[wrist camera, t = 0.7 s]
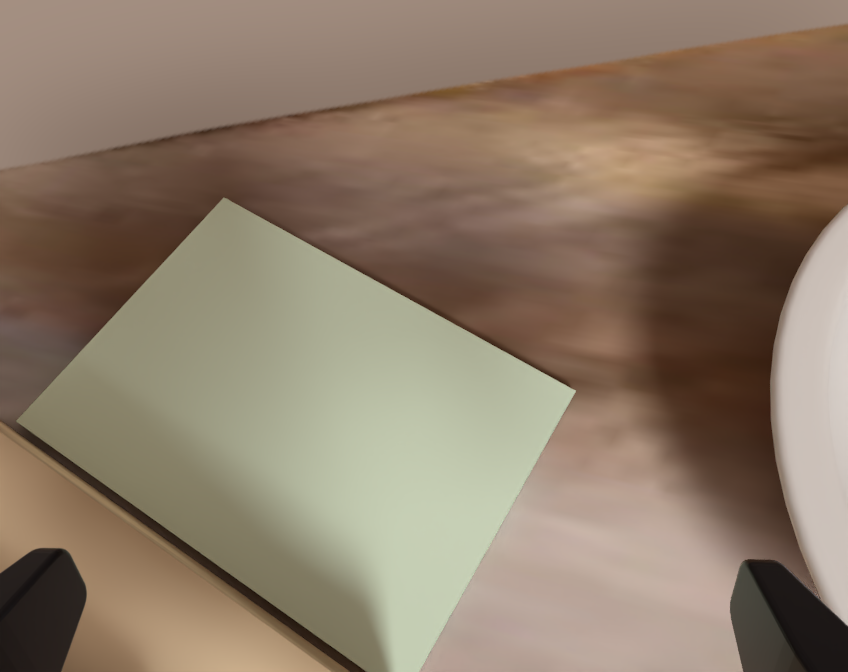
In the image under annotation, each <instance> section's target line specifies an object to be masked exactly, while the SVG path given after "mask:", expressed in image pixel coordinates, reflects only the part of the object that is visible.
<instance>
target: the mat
mask: <svg viewBox="0 0 848 672" xmlns="http://www.w3.org/2000/svg"><path fill="white" fill-rule="evenodd" d="M575 392H576V391H575V390H573V389H571V388H570V387H568V386H566V385H564V384H562V383H560V382H559V381H557V380H555V379H553V378H551V377H550V376H548V375H546V374H544V373H542V372H540V371H539V370H537V369H535V368H533V367H531V366H530V365H528V364H526V363H524V362H522V361H520V360H519V359H517V358H515V357H513V356H511V355H510V354H508V353H506V352H504V351H502V350H500V349H499V348H497V347H495V346H493V345H491V344H490V343H488V342H486V341H484V340H482V339H480V338H479V337H477V336H475V335H473V334H471V333H470V332H468V331H466V330H464V329H462V328H460V327H459V326H457V325H455V324H453V323H451V322H450V321H448V320H446V319H444V318H442V317H440V316H439V315H437V314H435V313H433V312H431V311H430V310H428V309H426V308H424V307H422V306H420V305H419V304H417V303H415V302H413V301H411V300H410V299H408V298H406V297H404V296H402V295H400V294H399V293H397V292H395V291H393V290H391V289H390V288H388V287H386V286H384V285H382V284H381V283H379V282H377V281H375V280H373V279H371V278H370V277H368V276H366V275H364V274H362V273H361V272H359V271H357V270H355V269H353V268H351V267H350V266H348V265H346V264H344V263H342V262H341V261H339V260H337V259H335V258H333V257H331V256H330V255H328V254H326V253H324V252H322V251H321V250H319V249H317V248H315V247H313V246H311V245H310V244H308V243H306V242H304V241H302V240H301V239H299V238H297V237H295V236H293V235H291V234H290V233H288V232H286V231H284V230H282V229H281V228H279V227H277V226H275V225H273V224H271V223H270V222H268V221H266V220H264V219H262V218H261V217H259V216H257V215H255V214H253V213H251V212H250V211H248V210H246V209H244V208H242V207H241V206H239V205H237V204H235V203H233V202H231V201H230V200H228V199H226V198H223V199H222V200H221V201H220V202H219V203H218V204H217V205H216V206H215V208H214V209H213V210H212V211H211V212H210V213H209V214H208V215H207V216H206V217H205V218H204V219H203V220H202V221H201V223H200V224H199V225H198V226H197V227H196V228H195V229H194V230H193V231H192V232H191V233H190V234H189V235H188V237H187V238H186V239H185V240H184V241H183V242H182V243H181V244H180V245H179V246H178V247H177V248H176V249H175V251H174V252H173V253H172V254H171V255H170V256H169V257H168V258H167V259H166V260H165V261H164V262H163V263H162V265H161V266H160V267H159V268H158V269H157V270H156V271H155V272H154V273H153V274H152V275H151V276H150V277H149V278H148V280H147V281H146V282H145V283H144V284H143V285H142V286H141V287H140V288H139V289H138V290H137V291H136V292H135V294H134V295H133V296H132V297H131V298H130V299H129V300H128V301H127V302H126V303H125V304H124V305H123V306H122V308H121V309H120V310H119V311H118V312H117V313H116V314H115V315H114V316H113V317H112V318H111V319H110V320H109V321H108V323H107V324H106V325H105V326H104V327H103V328H102V329H101V330H100V331H99V332H98V333H97V334H96V335H95V337H94V338H93V339H92V340H91V341H90V342H89V343H88V344H87V345H86V346H85V347H84V348H83V349H82V351H81V352H80V353H79V354H78V355H77V356H76V357H75V358H74V359H73V360H72V361H71V362H70V363H69V364H68V366H67V367H66V368H65V369H64V370H63V371H62V372H61V373H60V374H59V375H58V376H57V377H56V378H55V380H54V381H53V382H52V383H51V384H50V385H49V386H48V387H47V388H46V389H45V390H44V391H43V392H42V394H41V395H40V396H39V397H38V398H37V399H36V400H35V401H34V402H33V403H32V404H31V405H30V406H29V407H28V409H27V410H26V411H25V412H24V413H23V414H22V415H21V416H20V417H19V418H18V419H17V420H16V422H17V423H19V424H20V425H22V426H23V427H24V428H26V429H27V430H29V431H30V432H32V433H33V434H34V435H36V436H37V437H39V438H40V439H41V440H43V441H44V442H46V443H47V444H48V445H50V446H51V447H53V448H54V449H55V450H57V451H58V452H60V453H61V454H62V455H64V456H65V457H67V458H68V459H69V460H71V461H72V462H74V463H75V464H76V465H78V466H79V467H81V468H82V469H83V470H85V471H86V472H88V473H89V474H90V475H92V476H93V477H95V478H96V479H97V480H99V481H100V482H102V483H103V484H104V485H106V486H107V487H109V488H110V489H111V490H113V491H114V492H116V493H117V494H118V495H120V496H121V497H123V498H124V499H125V500H127V501H128V502H130V503H131V504H132V505H134V506H135V507H137V508H138V509H139V510H141V511H142V512H144V513H145V514H146V515H148V516H149V517H151V518H152V519H153V520H155V521H156V522H158V523H159V524H160V525H162V526H163V527H165V528H166V529H167V530H169V531H170V532H172V533H173V534H174V535H176V536H177V537H179V538H180V539H181V540H183V541H184V542H186V543H187V544H188V545H190V546H191V547H193V548H194V549H195V550H197V551H198V552H200V553H201V554H202V555H204V556H205V557H207V558H208V559H209V560H211V561H212V562H214V563H215V564H216V565H218V566H219V567H221V568H222V569H223V570H225V571H226V572H228V573H229V574H230V575H232V576H233V577H235V578H236V579H237V580H239V581H240V582H242V583H243V584H244V585H246V586H247V587H249V588H250V589H252V590H253V591H254V592H256V593H257V594H259V595H260V596H261V597H263V598H264V599H266V600H267V601H268V602H270V603H271V604H273V605H274V606H275V607H277V608H278V609H280V610H281V611H282V612H284V613H285V614H287V615H288V616H289V617H291V618H292V619H294V620H295V621H296V622H298V623H299V624H301V625H302V626H303V627H305V628H306V629H308V630H309V631H310V632H312V633H313V634H315V635H316V636H317V637H319V638H320V639H322V640H323V641H324V642H326V643H327V644H329V645H330V646H331V647H333V648H334V649H336V650H337V651H338V652H340V653H341V654H343V655H344V656H345V657H347V658H348V659H350V660H351V661H352V662H354V663H355V664H357V665H358V666H359V667H361V668H362V669H364V670H365V671H366V672H419V671H420V669H421V667H422V666H423V664H424V662H425V660H426V658H427V657H428V655H429V653H430V651H431V650H432V648H433V646H434V644H435V642H436V641H437V639H438V637H439V635H440V633H441V632H442V630H443V628H444V626H445V624H446V623H447V621H448V619H449V617H450V616H451V614H452V612H453V610H454V608H455V607H456V605H457V603H458V601H459V599H460V598H461V596H462V594H463V592H464V590H465V589H466V587H467V585H468V583H469V582H470V580H471V578H472V576H473V574H474V573H475V571H476V569H477V567H478V565H479V564H480V562H481V560H482V558H483V556H484V555H485V553H486V551H487V549H488V548H489V546H490V544H491V542H492V540H493V539H494V537H495V535H496V533H497V531H498V530H499V528H500V526H501V524H502V522H503V521H504V519H505V517H506V515H507V514H508V512H509V510H510V508H511V506H512V505H513V503H514V501H515V499H516V497H517V496H518V494H519V492H520V490H521V488H522V487H523V485H524V483H525V481H526V480H527V478H528V476H529V474H530V472H531V471H532V469H533V467H534V465H535V463H536V462H537V460H538V458H539V456H540V454H541V453H542V451H543V449H544V447H545V446H546V444H547V442H548V440H549V438H550V437H551V435H552V433H553V431H554V429H555V428H556V426H557V424H558V422H559V420H560V419H561V417H562V415H563V413H564V412H565V410H566V408H567V406H568V404H569V403H570V401H571V399H572V397H573V395H574V394H575Z"/></svg>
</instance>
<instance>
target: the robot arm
mask: <svg viewBox="0 0 848 672" xmlns="http://www.w3.org/2000/svg"><path fill="white" fill-rule="evenodd" d="M86 598H87V589H86V585H85V582H84V580H83V578H82V576H81V574H80V572H79V570H78V568H77V566H76V564H75V562H74V560H73V558H72V556H71V554H70V553H69V552H68V551H67V550H65V549H63V548H38V549H34V550H32V551H30V552H29V553H27V554H26V555H25V556H23V557H22V558H20V559H19V560H18V561H16V562H15V563H13V564H12V565H11V566H9V567H8V568H7V569H5V570H4V571H2V572H1V573H0V672H62V669H63V666H64V663H65V661H66V658H67V655H68V652H69V649H70V646H71V644H72V641H73V638H74V635H75V632H76V629H77V627H78V624H79V621H80V618H81V615H82V612H83V610H84V607H85V603H86ZM730 613H731V620H732V625H733V629H734V633H735V638H736V642H737V646H738V651H739V655H740V659H741V664H742V668H743V672H848V625H847V624H845V623H844V622H843V621H842V620H841V619H840V618H839V617H838V616H837V615H836V614H835V613H834V612H833V611H832V610H831V609H830V608H829V607H827V606H826V605H825V604H824V603H823V602H822V601H821V600H820V599H819V598H818V597H817V596H816V595H815V594H814V593H813V592H812V591H811V590H809V589H808V588H807V587H806V586H805V585H804V584H803V583H802V582H801V581H800V580H799V579H798V578H797V577H796V576H795V575H794V574H793V573H791V572H790V571H789V570H788V569H787V568H786V567H785V566H784V565H783V564H781V563H780V562H778V561H775V560H754V559H748V560H745V561H743V562H742V564H741V566H740V568H739V572H738V575H737V579H736V583H735V586H734V590H733V594H732V597H731V602H730Z"/></svg>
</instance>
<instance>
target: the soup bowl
mask: <svg viewBox="0 0 848 672" xmlns="http://www.w3.org/2000/svg"><path fill="white" fill-rule="evenodd" d="M770 401H771V426H772V434H773V442H774V450H775V458H776V464H777V468H778V473H779V477H780V482H781V486H782V490H783V495H784V499H785V504H786V507H787V510H788V513H789V517H790V520H791V523H792V526H793V529H794V532H795V535H796V538H797V541H798V544H799V548H800V551H801V553H802V555H803V558H804V560H805V563H806V565H807V567H808V570H809V572H810V575H811V577H812V579H813V582H814V584H815V587H816V589H817V591H818V594H819V596H820V598H821V600H822V602H823V603H824V604H825V605H826V606H827V607H829V608H830V609H831V610H832V611H833V612H834V613H835V614H836V615H837V616H838V617H839V618H840V619H841V620H842V621H843V622H844V623H845V624H847V625H848V204H847V205H846V206H845V207H844V208H842V209H841V210H840V212H839V213H838V214H837V215H836V216H835V217H834V218H833V219H832V220H831V221H830V223H829V224H828V225H827V226H826V227H825V228H824V229H823V230H822V232H821V233H820V235H819V236H818V238H817V239H816V240H815V242H814V243H813V245H812V246H811V248H810V249H809V251H808V252H807V254H806V255H805V257H804V259H803V261H802V263H801V265H800V267H799V269H798V271H797V273H796V275H795V277H794V279H793V281H792V283H791V286H790V289H789V292H788V294H787V297H786V300H785V303H784V306H783V309H782V312H781V314H780V319H779V323H778V328H777V333H776V337H775V342H774V347H773V357H772V368H771V378H770Z"/></svg>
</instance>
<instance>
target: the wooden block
mask: <svg viewBox="0 0 848 672" xmlns="http://www.w3.org/2000/svg"><path fill="white" fill-rule="evenodd" d="M38 548H63V549H65V550H67V551H68V552H69V553H70V554H71V556H72V558H73V560H74V562H75V564H76V566H77V568H78V570H79V572H80V574H81V576H82V578H83V580H84V582H85V585H86V589H87V598H86V603H85V607H84V610H83V612H82V615H81V618H80V621H79V624H78V627H77V629H76V632H75V635H74V638H73V641H72V644H71V646H70V649H69V652H68V655H67V658H66V661H65V663H64V666H63V669H62V672H350V671H349V670H347V669H346V668H344V667H343V666H342V665H340V664H339V663H337V662H336V661H335V660H333V659H332V658H331V657H329V656H328V655H326V654H325V653H324V652H322V651H321V650H319V649H318V648H317V647H315V646H314V645H312V644H311V643H310V642H308V641H307V640H305V639H304V638H303V637H301V636H300V635H299V634H297V633H296V632H294V631H293V630H292V629H290V628H289V627H287V626H286V625H285V624H283V623H282V622H280V621H279V620H278V619H276V618H275V617H273V616H272V615H271V614H269V613H268V612H266V611H265V610H264V609H262V608H261V607H260V606H258V605H257V604H255V603H254V602H253V601H251V600H250V599H248V598H247V597H246V596H244V595H243V594H241V593H240V592H239V591H237V590H236V589H234V588H233V587H232V586H230V585H229V584H228V583H226V582H225V581H223V580H222V579H221V578H219V577H218V576H216V575H215V574H214V573H212V572H211V571H209V570H208V569H207V568H205V567H204V566H202V565H201V564H200V563H198V562H197V561H196V560H194V559H193V558H191V557H190V556H189V555H187V554H186V553H184V552H183V551H182V550H180V549H179V548H177V547H176V546H175V545H173V544H172V543H170V542H169V541H168V540H166V539H165V538H164V537H162V536H161V535H159V534H158V533H157V532H155V531H154V530H152V529H151V528H150V527H148V526H147V525H145V524H144V523H143V522H141V521H140V520H138V519H137V518H136V517H134V516H133V515H131V514H130V513H129V512H127V511H126V510H125V509H123V508H122V507H120V506H119V505H118V504H116V503H115V502H113V501H112V500H111V499H109V498H108V497H106V496H105V495H104V494H102V493H101V492H99V491H98V490H97V489H95V488H94V487H93V486H91V485H90V484H88V483H87V482H86V481H84V480H83V479H81V478H80V477H79V476H77V475H76V474H74V473H73V472H72V471H70V470H69V469H67V468H66V467H65V466H63V465H62V464H61V463H59V462H58V461H56V460H55V459H54V458H52V457H51V456H49V455H48V454H47V453H45V452H44V451H42V450H41V449H40V448H38V447H37V446H35V445H34V444H33V443H31V442H30V441H29V440H27V439H26V438H24V437H23V436H22V435H20V434H19V433H17V432H16V431H15V430H13V429H12V428H10V427H9V426H8V425H6V424H5V423H3V422H2V421H1V420H0V573H1V572H2V571H4V570H5V569H7V568H8V567H9V566H11V565H12V564H13V563H15V562H16V561H18V560H19V559H20V558H22V557H23V556H25V555H26V554H27V553H29V552H30V551H32V550H34V549H38Z"/></svg>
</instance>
